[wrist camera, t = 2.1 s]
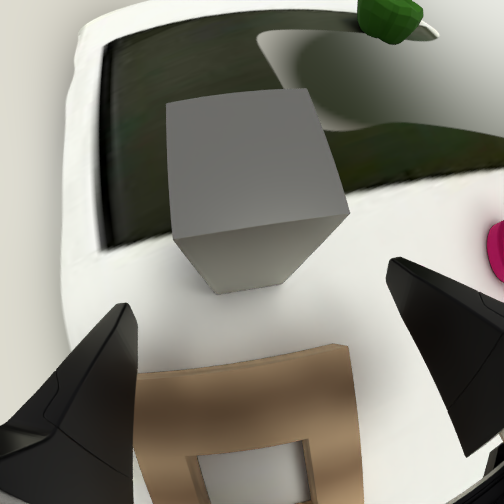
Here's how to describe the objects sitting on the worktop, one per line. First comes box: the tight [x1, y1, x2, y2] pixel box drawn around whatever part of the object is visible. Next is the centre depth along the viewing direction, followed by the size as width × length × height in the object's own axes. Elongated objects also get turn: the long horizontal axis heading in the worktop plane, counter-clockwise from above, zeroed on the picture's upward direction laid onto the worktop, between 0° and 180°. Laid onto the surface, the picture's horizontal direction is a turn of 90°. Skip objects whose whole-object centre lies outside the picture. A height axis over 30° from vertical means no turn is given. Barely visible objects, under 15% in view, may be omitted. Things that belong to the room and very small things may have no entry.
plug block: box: [166, 88, 350, 295], centre depth 14 cm, size 4×4×13 cm
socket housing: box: [133, 344, 364, 504], centre depth 15 cm, size 18×14×3 cm
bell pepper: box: [357, 0, 423, 45], centre depth 24 cm, size 8×8×10 cm
